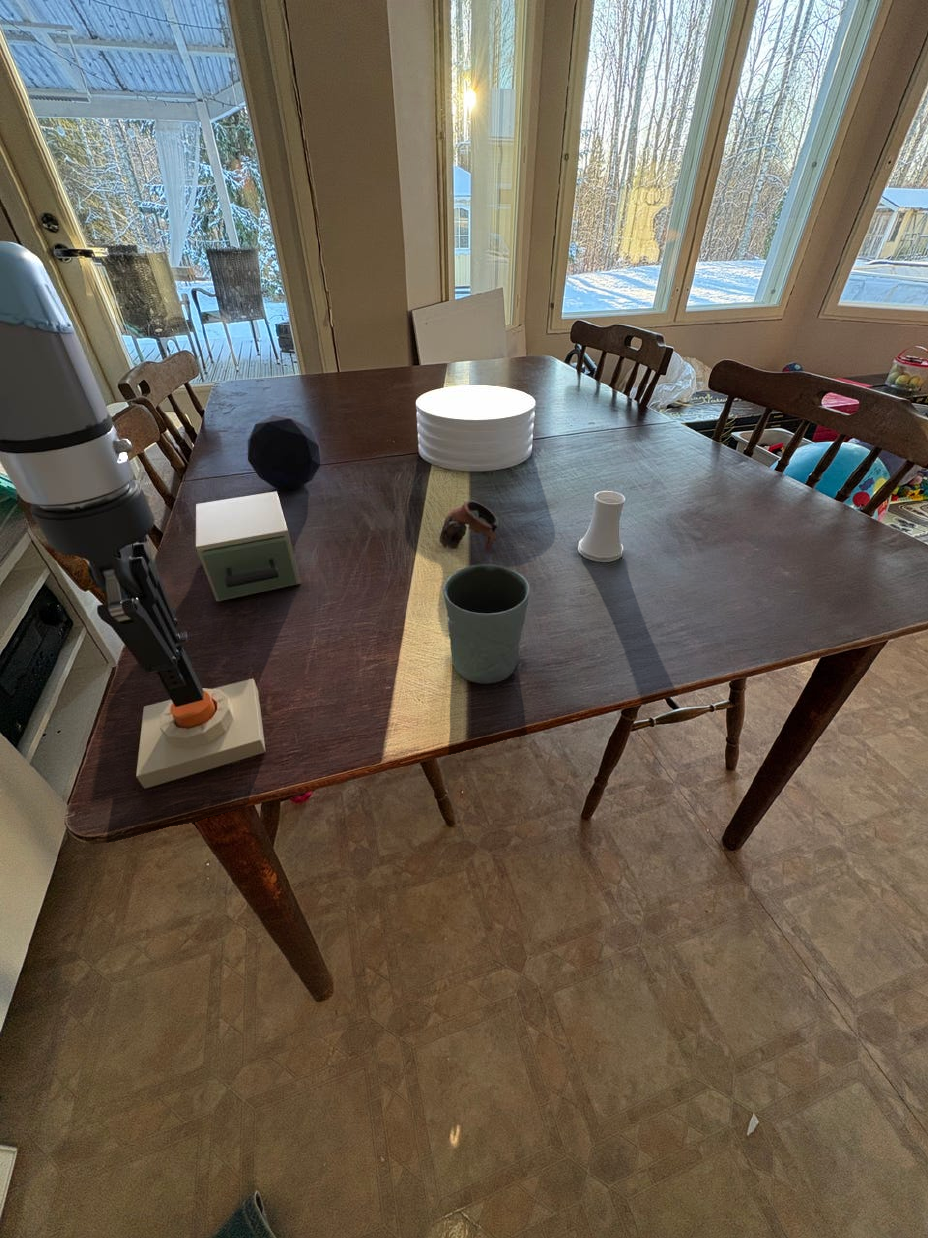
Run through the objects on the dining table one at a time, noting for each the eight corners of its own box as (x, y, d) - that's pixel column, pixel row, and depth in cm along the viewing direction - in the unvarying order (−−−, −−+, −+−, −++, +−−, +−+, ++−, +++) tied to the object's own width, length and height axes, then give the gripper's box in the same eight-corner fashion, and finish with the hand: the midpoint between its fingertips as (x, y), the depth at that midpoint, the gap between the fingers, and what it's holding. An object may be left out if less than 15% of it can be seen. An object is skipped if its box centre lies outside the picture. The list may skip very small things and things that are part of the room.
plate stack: (434, 427, 140) (432, 382, 133) (536, 433, 135) (540, 387, 128) (404, 466, 118) (400, 415, 111) (525, 475, 114) (529, 423, 107)
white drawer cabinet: (300, 583, 81) (287, 530, 75) (216, 601, 78) (195, 546, 72) (289, 540, 92) (276, 490, 86) (214, 555, 88) (195, 503, 82)
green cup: (514, 634, 71) (520, 561, 64) (530, 686, 64) (539, 610, 56) (442, 639, 70) (439, 566, 63) (449, 693, 63) (447, 617, 55)
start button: (175, 733, 54) (169, 722, 52) (176, 706, 56) (170, 695, 55) (216, 722, 55) (211, 711, 54) (215, 696, 58) (210, 685, 56)
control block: (144, 789, 52) (128, 765, 50) (151, 719, 60) (137, 695, 57) (265, 752, 56) (256, 728, 53) (258, 690, 63) (249, 667, 61)
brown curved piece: (450, 527, 97) (473, 492, 92) (487, 559, 95) (512, 526, 91) (416, 540, 87) (440, 501, 82) (457, 576, 85) (483, 539, 81)
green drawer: (300, 598, 77) (289, 554, 72) (220, 616, 73) (202, 571, 68) (286, 543, 90) (275, 502, 85) (216, 556, 86) (201, 514, 81)
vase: (607, 536, 93) (617, 484, 86) (630, 557, 87) (643, 503, 81) (570, 543, 91) (577, 491, 84) (591, 565, 85) (601, 510, 79)
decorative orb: (239, 452, 111) (232, 405, 98) (306, 439, 117) (308, 394, 104) (261, 508, 109) (257, 469, 96) (329, 492, 115) (334, 453, 102)
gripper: (130, 517, 36) (229, 733, 50) (144, 453, 45) (224, 651, 60) (2, 538, 34) (145, 757, 48) (45, 467, 43) (154, 668, 58)
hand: (189, 698), depth 54 cm, fingers closed
